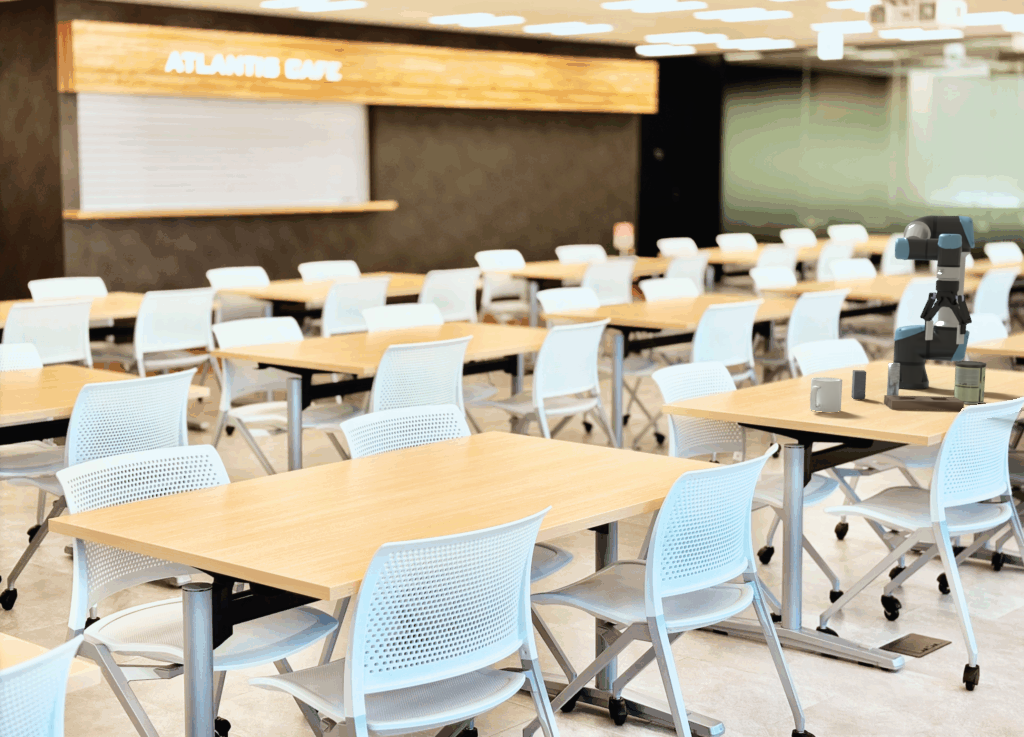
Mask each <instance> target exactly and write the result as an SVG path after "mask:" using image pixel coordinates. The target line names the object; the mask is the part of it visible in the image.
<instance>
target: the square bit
mask: <svg viewBox="0 0 1024 737" xmlns="http://www.w3.org/2000/svg"><path fill="white" fill-rule="evenodd" d="M851 378H852V380H851V397H852V398H853V399H865V400H866V386H867V384H866V383H867V371H866V370H862V369H861V370H860V369H859V370H858V369H852V376H851ZM852 398H851V399H852ZM853 399H852V400H853Z"/></svg>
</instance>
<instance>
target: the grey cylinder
mask: <svg viewBox="0 0 1024 737" xmlns="http://www.w3.org/2000/svg"><path fill="white" fill-rule="evenodd" d="M887 367H888V368H887V385H886V386H887V387H886V395H898V396H900V395H899V391H900V390H899V389H900V388H899V376H900V363H893V362H888V366H887Z"/></svg>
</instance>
